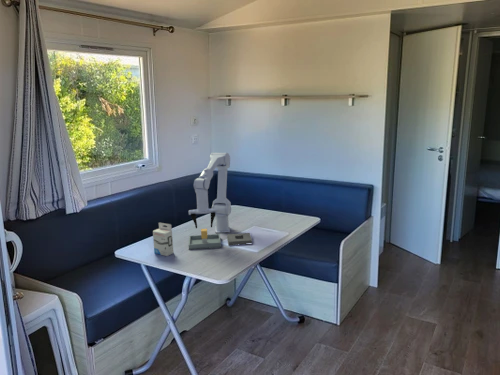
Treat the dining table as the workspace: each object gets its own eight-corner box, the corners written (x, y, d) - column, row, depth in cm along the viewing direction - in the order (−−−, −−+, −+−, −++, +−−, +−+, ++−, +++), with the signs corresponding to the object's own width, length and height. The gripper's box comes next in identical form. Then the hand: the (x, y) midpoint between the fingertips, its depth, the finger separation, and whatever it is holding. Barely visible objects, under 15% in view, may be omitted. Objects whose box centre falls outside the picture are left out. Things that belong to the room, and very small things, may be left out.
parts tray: (189, 240, 233) (189, 235, 233) (219, 238, 235) (219, 233, 234) (188, 249, 220) (188, 244, 219) (220, 247, 221) (220, 242, 221)
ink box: (153, 253, 216) (151, 225, 213) (160, 250, 220) (158, 222, 217) (167, 256, 212) (165, 227, 208) (174, 253, 216) (172, 224, 213)
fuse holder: (227, 237, 235) (227, 234, 235) (249, 236, 237) (249, 232, 236) (228, 245, 224) (228, 241, 223) (252, 244, 225) (251, 240, 224)
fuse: (201, 241, 229) (201, 228, 227) (207, 241, 229) (207, 228, 227) (201, 244, 225) (201, 231, 223) (207, 244, 225) (207, 231, 223)
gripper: (187, 204, 218) (189, 230, 221) (217, 202, 219) (218, 228, 222) (188, 200, 225) (189, 226, 228) (216, 199, 226) (217, 224, 229)
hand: (204, 227), depth 226 cm, fingers open, 7 cm apart
